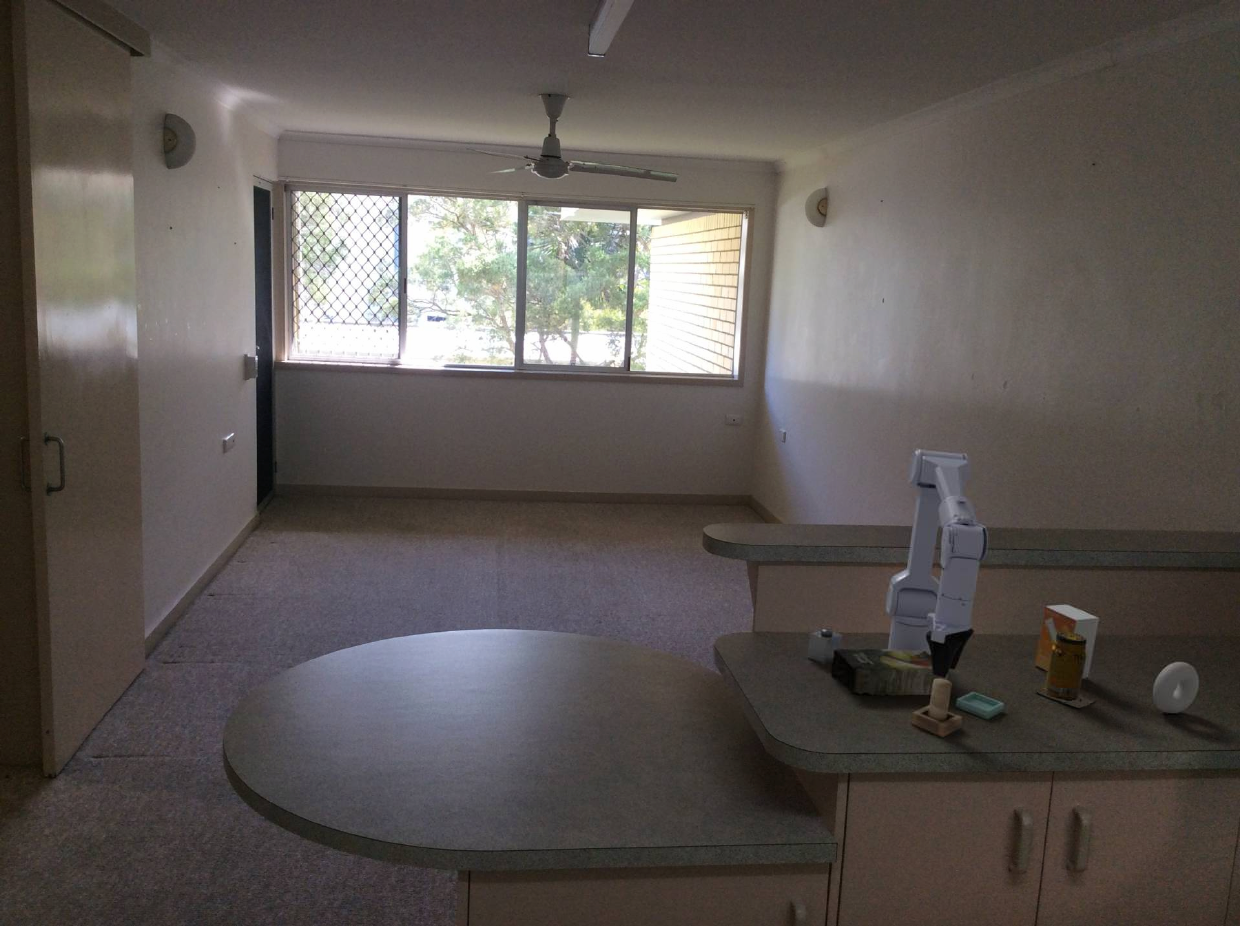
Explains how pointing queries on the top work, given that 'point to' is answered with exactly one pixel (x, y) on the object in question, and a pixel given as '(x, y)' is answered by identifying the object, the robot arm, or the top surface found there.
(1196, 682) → the grey round disc
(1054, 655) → the condiment
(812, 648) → the stop block
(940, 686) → the dowel
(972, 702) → the tray
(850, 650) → the juice carton
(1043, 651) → the small box
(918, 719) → the socket
